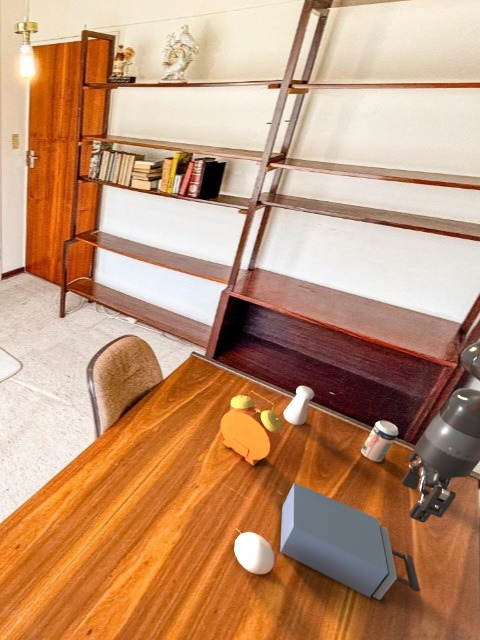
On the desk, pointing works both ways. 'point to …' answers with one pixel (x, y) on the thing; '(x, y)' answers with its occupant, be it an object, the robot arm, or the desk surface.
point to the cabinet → (333, 539)
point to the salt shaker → (299, 406)
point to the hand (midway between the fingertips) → (411, 501)
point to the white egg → (254, 553)
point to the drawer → (391, 569)
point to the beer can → (379, 440)
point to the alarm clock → (251, 429)
